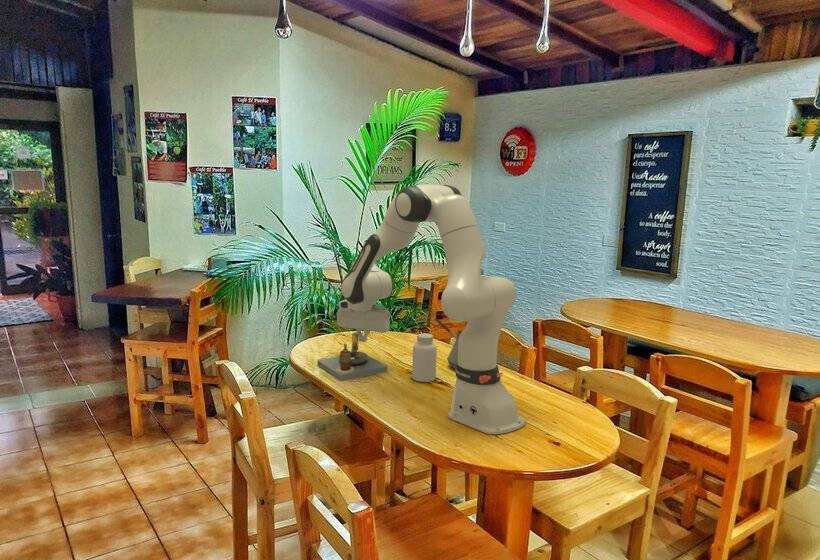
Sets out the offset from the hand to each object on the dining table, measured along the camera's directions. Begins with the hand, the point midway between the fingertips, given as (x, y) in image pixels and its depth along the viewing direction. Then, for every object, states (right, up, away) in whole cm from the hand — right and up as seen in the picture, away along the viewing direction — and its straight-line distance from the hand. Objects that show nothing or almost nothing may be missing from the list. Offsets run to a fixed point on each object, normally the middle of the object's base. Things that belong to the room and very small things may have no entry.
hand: (362, 341), depth 205 cm
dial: (-3, -6, -4) cm, 8 cm away
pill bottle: (+22, -11, -15) cm, 28 cm away
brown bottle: (-5, -8, -14) cm, 17 cm away
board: (-3, -9, -6) cm, 11 cm away
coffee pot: (+33, -9, +1) cm, 34 cm away
